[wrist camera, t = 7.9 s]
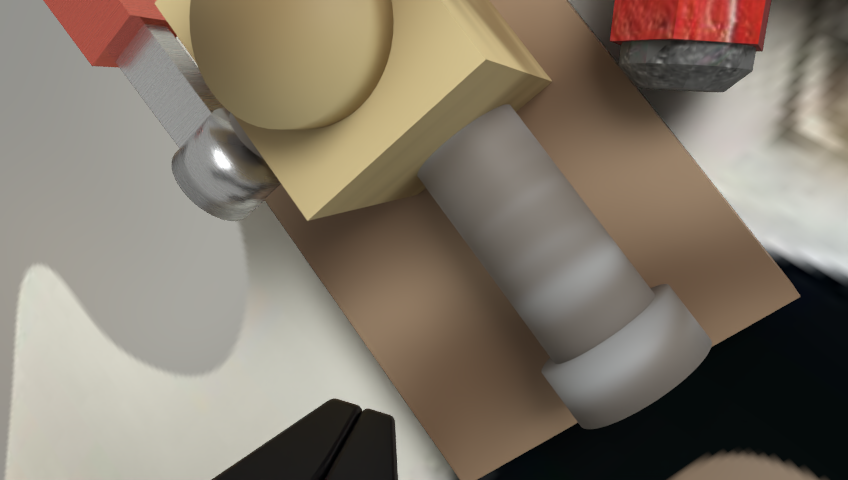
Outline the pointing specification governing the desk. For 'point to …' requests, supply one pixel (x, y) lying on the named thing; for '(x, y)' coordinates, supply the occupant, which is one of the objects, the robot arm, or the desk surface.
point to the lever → (172, 101)
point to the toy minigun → (688, 41)
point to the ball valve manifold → (485, 207)
